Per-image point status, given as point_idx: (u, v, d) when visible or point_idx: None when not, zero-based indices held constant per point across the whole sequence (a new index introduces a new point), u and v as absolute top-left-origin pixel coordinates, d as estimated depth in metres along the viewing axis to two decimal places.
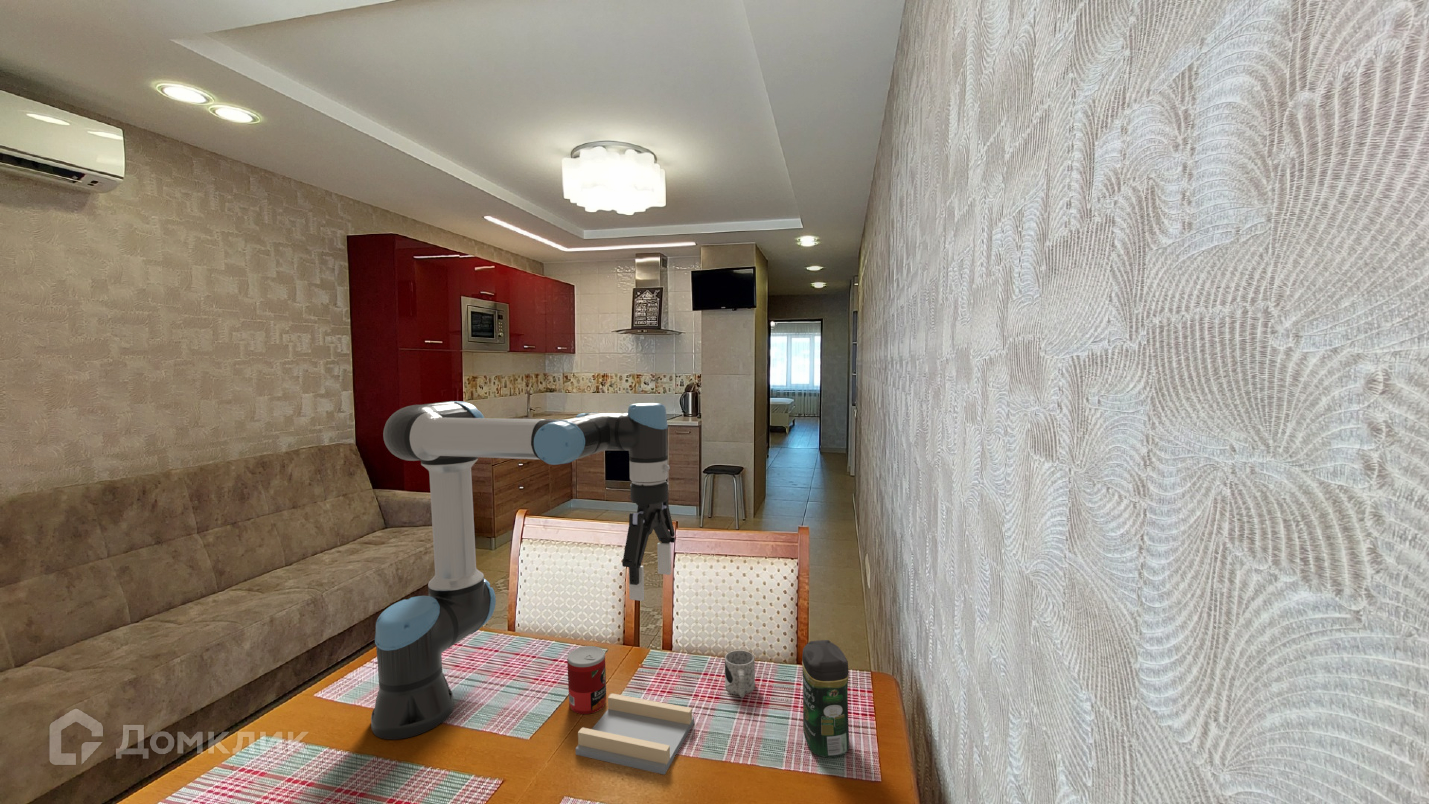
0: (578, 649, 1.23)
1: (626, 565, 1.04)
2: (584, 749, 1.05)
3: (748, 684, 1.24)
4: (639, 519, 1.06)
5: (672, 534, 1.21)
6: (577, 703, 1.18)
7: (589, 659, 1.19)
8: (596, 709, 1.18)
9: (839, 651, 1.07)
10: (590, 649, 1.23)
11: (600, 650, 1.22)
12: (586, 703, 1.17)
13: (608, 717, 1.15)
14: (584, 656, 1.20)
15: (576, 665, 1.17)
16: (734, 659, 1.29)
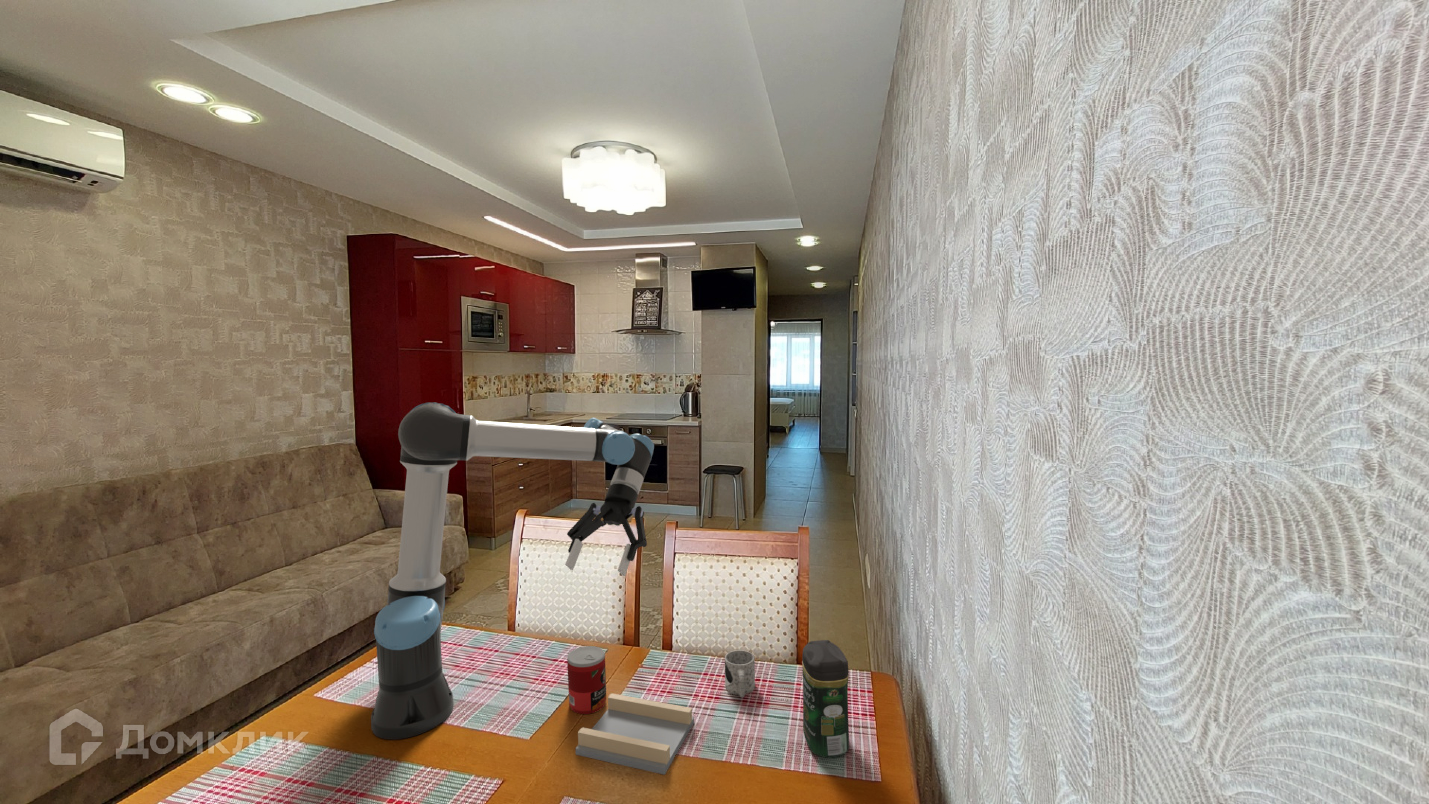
0: (578, 649, 1.23)
1: (644, 542, 1.30)
2: (584, 749, 1.05)
3: (748, 684, 1.24)
4: (643, 514, 1.37)
5: None
6: (577, 703, 1.18)
7: (589, 659, 1.19)
8: (596, 709, 1.18)
9: (839, 651, 1.07)
10: (590, 649, 1.23)
11: (600, 650, 1.22)
12: (586, 703, 1.17)
13: (608, 717, 1.15)
14: (584, 656, 1.20)
15: (576, 665, 1.17)
16: (734, 659, 1.29)
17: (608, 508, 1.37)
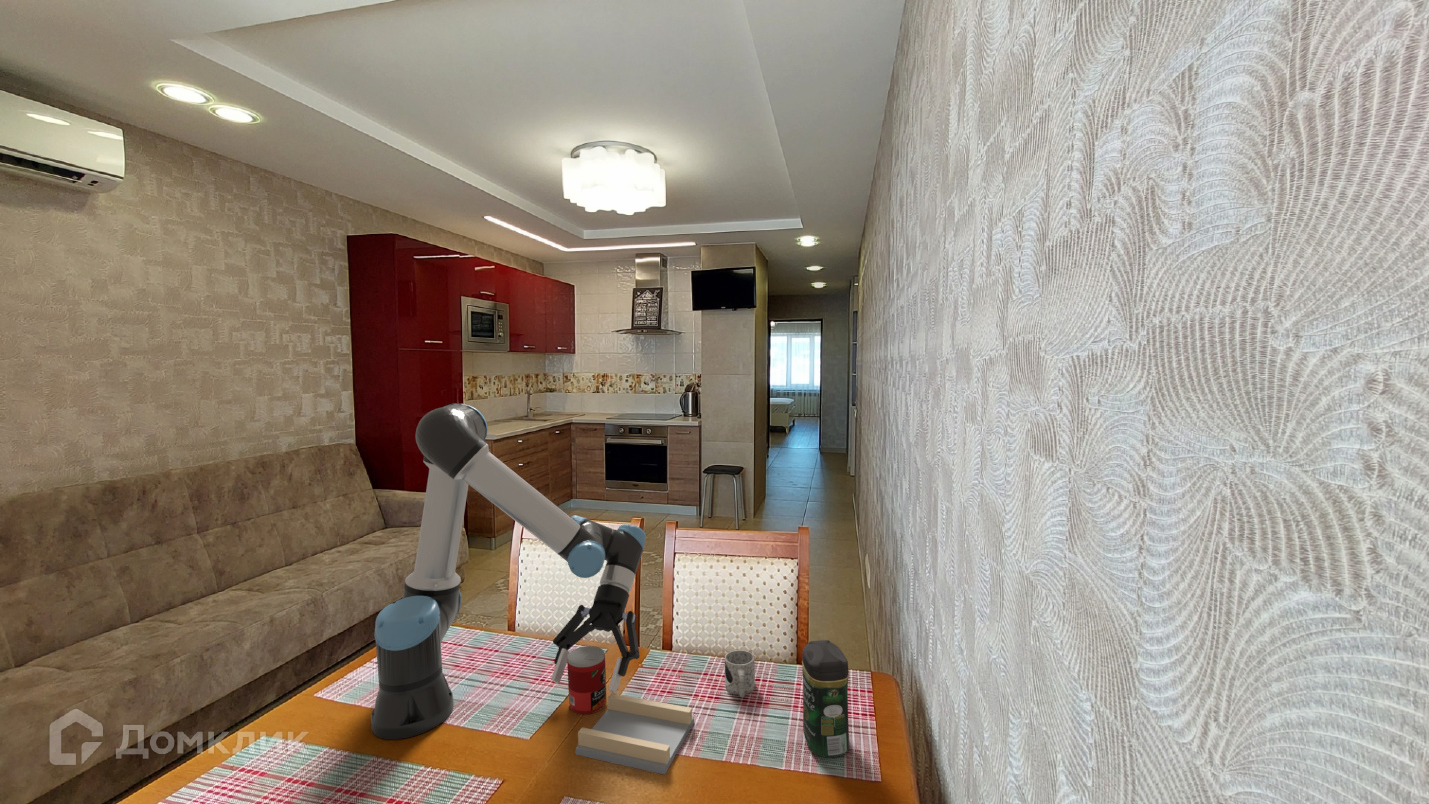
0: (578, 649, 1.23)
1: (636, 655, 1.21)
2: (584, 749, 1.05)
3: (748, 684, 1.24)
4: (635, 619, 1.27)
5: None
6: (577, 703, 1.18)
7: (589, 659, 1.19)
8: (596, 709, 1.18)
9: (839, 651, 1.07)
10: (590, 649, 1.23)
11: (600, 650, 1.22)
12: (586, 703, 1.17)
13: (608, 717, 1.15)
14: (584, 656, 1.20)
15: (576, 665, 1.17)
16: (734, 659, 1.29)
17: (597, 613, 1.27)
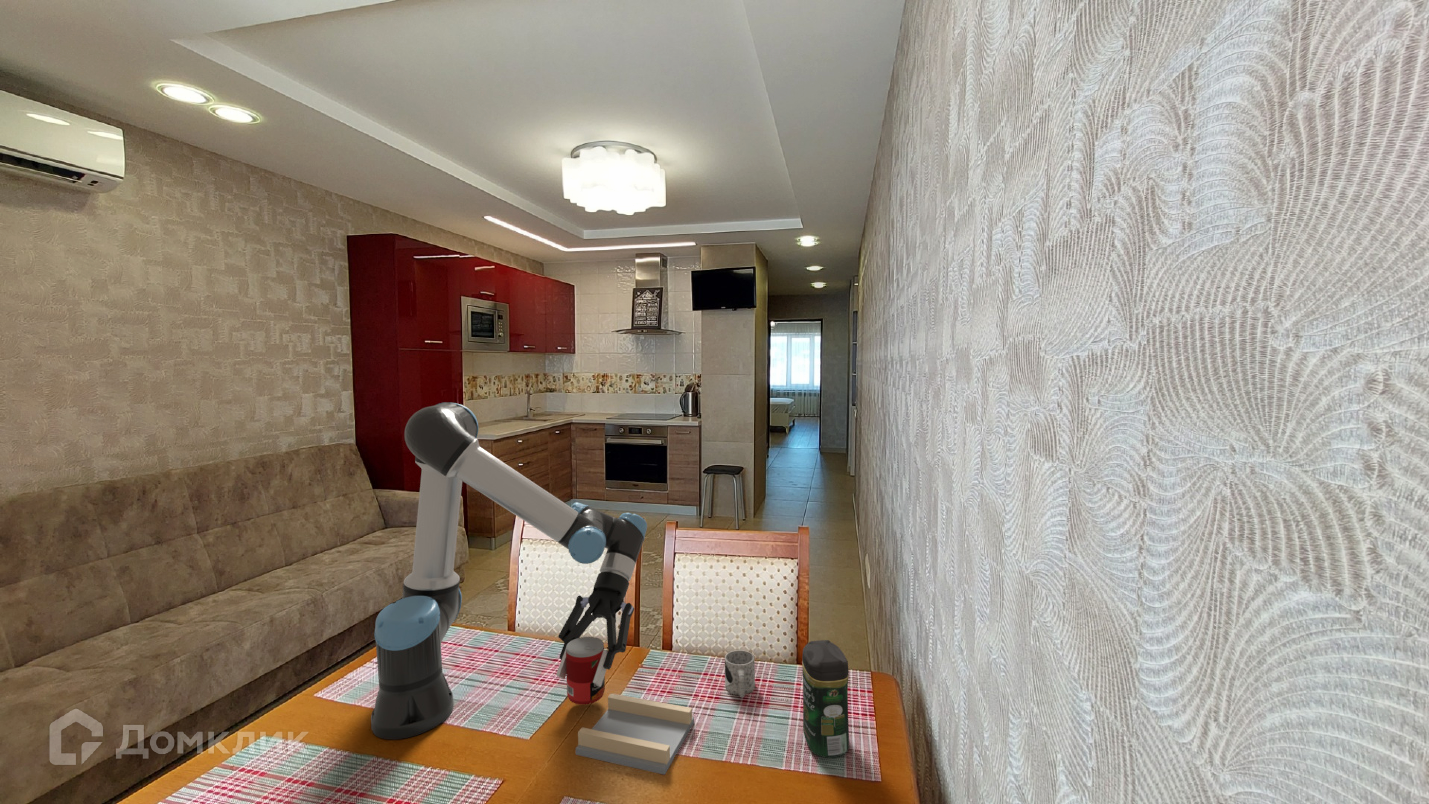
0: (576, 640, 1.22)
1: (622, 648, 1.20)
2: (584, 749, 1.05)
3: (748, 684, 1.24)
4: (632, 611, 1.26)
5: None
6: (577, 694, 1.17)
7: (588, 649, 1.19)
8: (595, 699, 1.18)
9: (839, 651, 1.07)
10: (588, 640, 1.23)
11: (599, 640, 1.22)
12: (586, 694, 1.17)
13: (608, 717, 1.15)
14: (583, 646, 1.20)
15: (576, 656, 1.16)
16: (734, 659, 1.29)
17: (597, 600, 1.27)
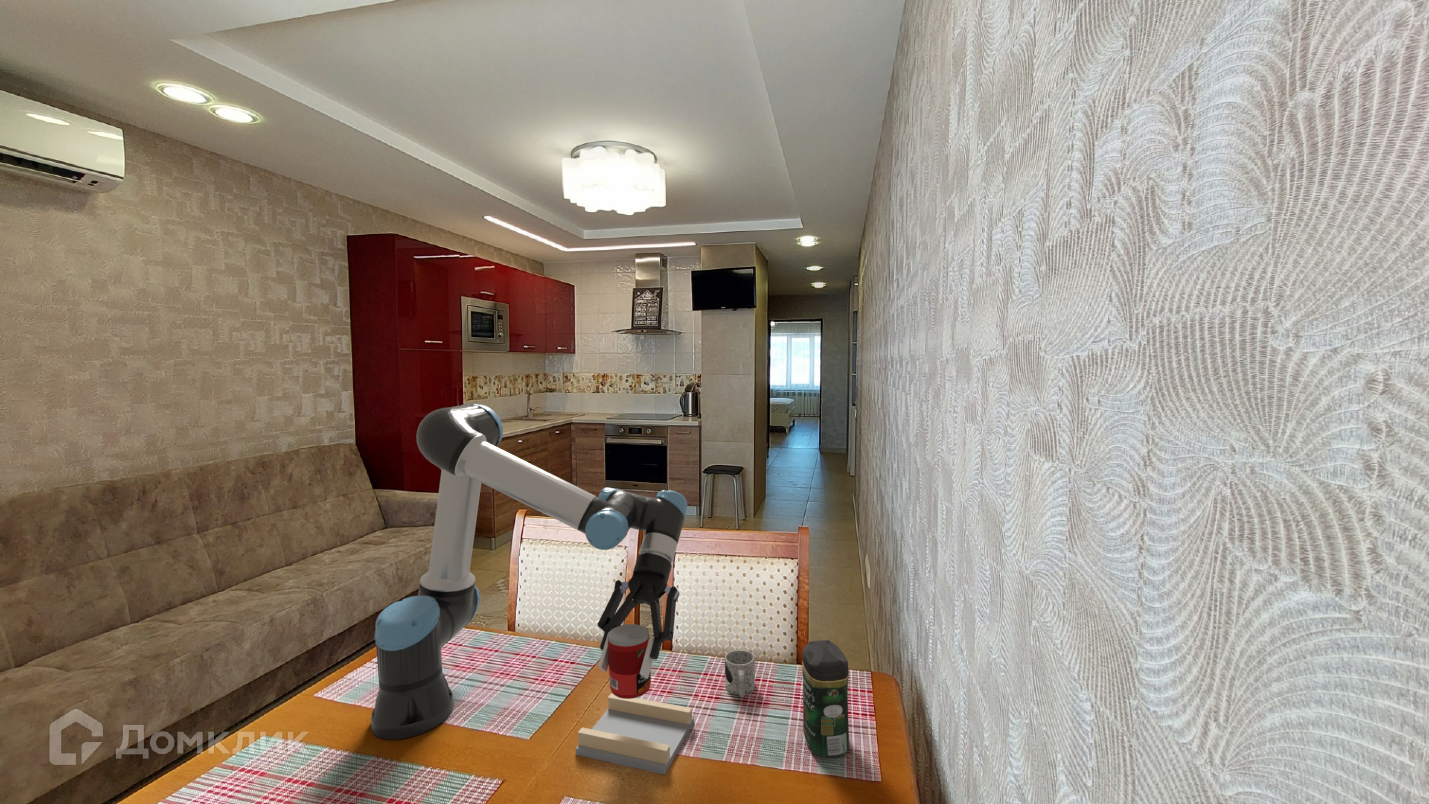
0: (618, 628, 1.11)
1: (670, 635, 1.08)
2: (584, 749, 1.05)
3: (748, 684, 1.24)
4: (678, 596, 1.14)
5: None
6: (621, 687, 1.05)
7: (633, 638, 1.07)
8: (642, 693, 1.06)
9: (839, 651, 1.07)
10: (631, 627, 1.11)
11: (643, 628, 1.10)
12: (632, 686, 1.05)
13: (608, 717, 1.15)
14: (626, 635, 1.08)
15: (620, 645, 1.05)
16: (734, 659, 1.29)
17: (638, 584, 1.15)
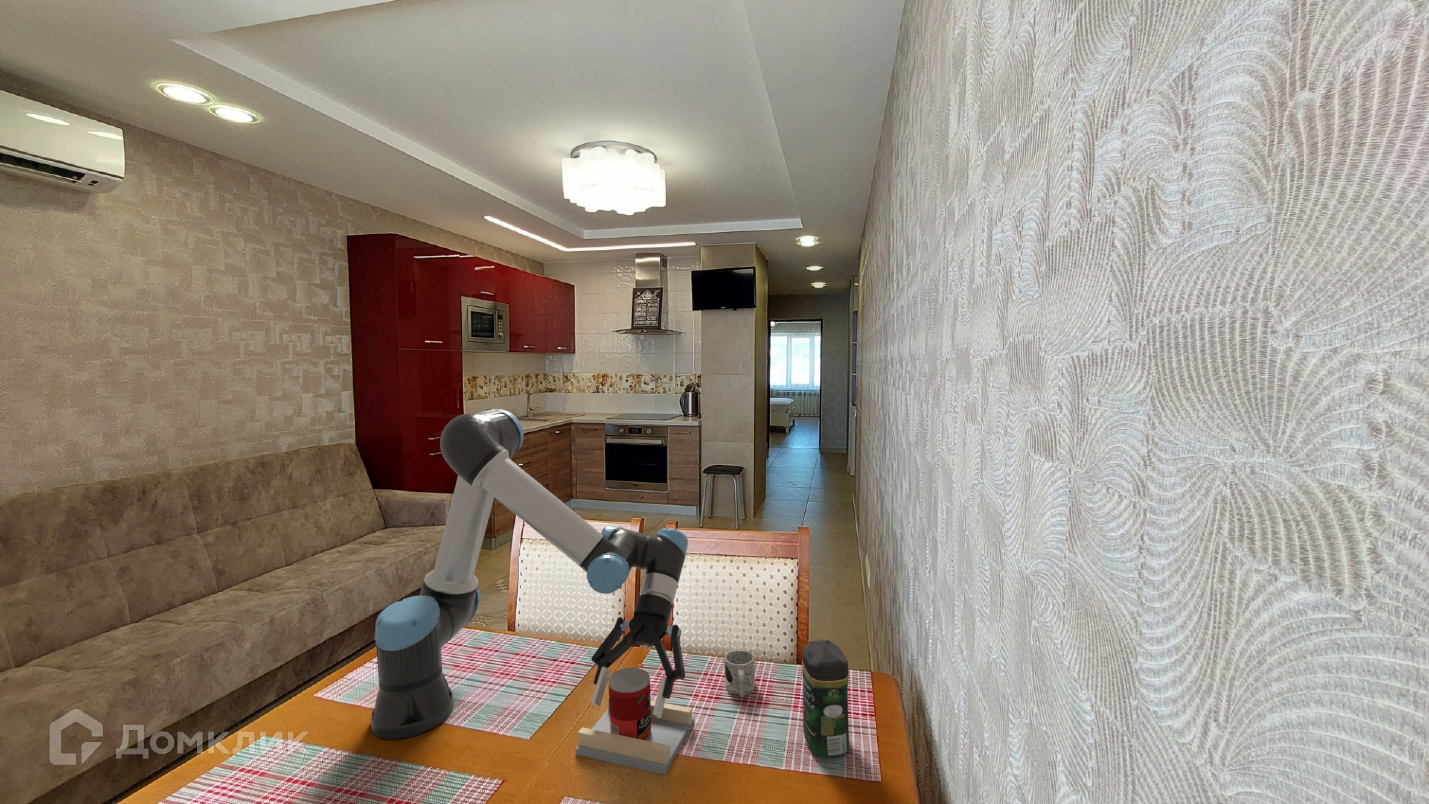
0: (618, 672, 1.11)
1: (682, 674, 1.09)
2: (584, 749, 1.05)
3: (748, 684, 1.24)
4: (680, 633, 1.16)
5: None
6: (622, 733, 1.06)
7: (633, 683, 1.08)
8: (642, 738, 1.07)
9: (839, 651, 1.07)
10: (632, 671, 1.12)
11: (643, 672, 1.11)
12: (632, 732, 1.06)
13: (608, 717, 1.15)
14: (627, 680, 1.09)
15: (621, 691, 1.05)
16: (734, 659, 1.29)
17: (639, 626, 1.16)
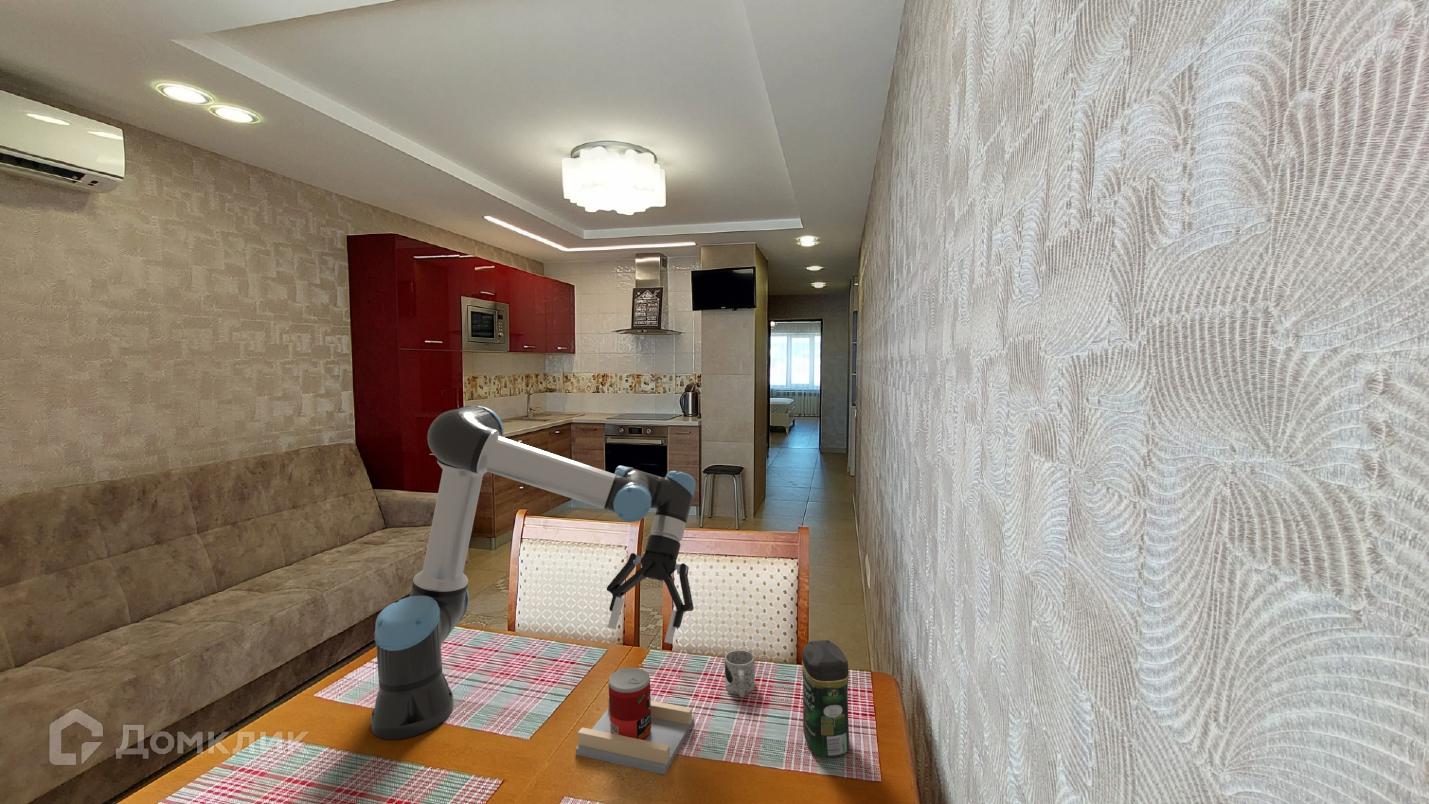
0: (618, 672, 1.11)
1: (691, 608, 1.21)
2: (584, 749, 1.05)
3: (748, 684, 1.24)
4: None
5: None
6: (622, 733, 1.06)
7: (633, 683, 1.08)
8: (642, 738, 1.07)
9: (839, 651, 1.07)
10: (632, 671, 1.12)
11: (643, 672, 1.11)
12: (632, 732, 1.06)
13: (608, 717, 1.15)
14: (627, 680, 1.09)
15: (621, 691, 1.05)
16: (734, 659, 1.29)
17: (650, 563, 1.26)
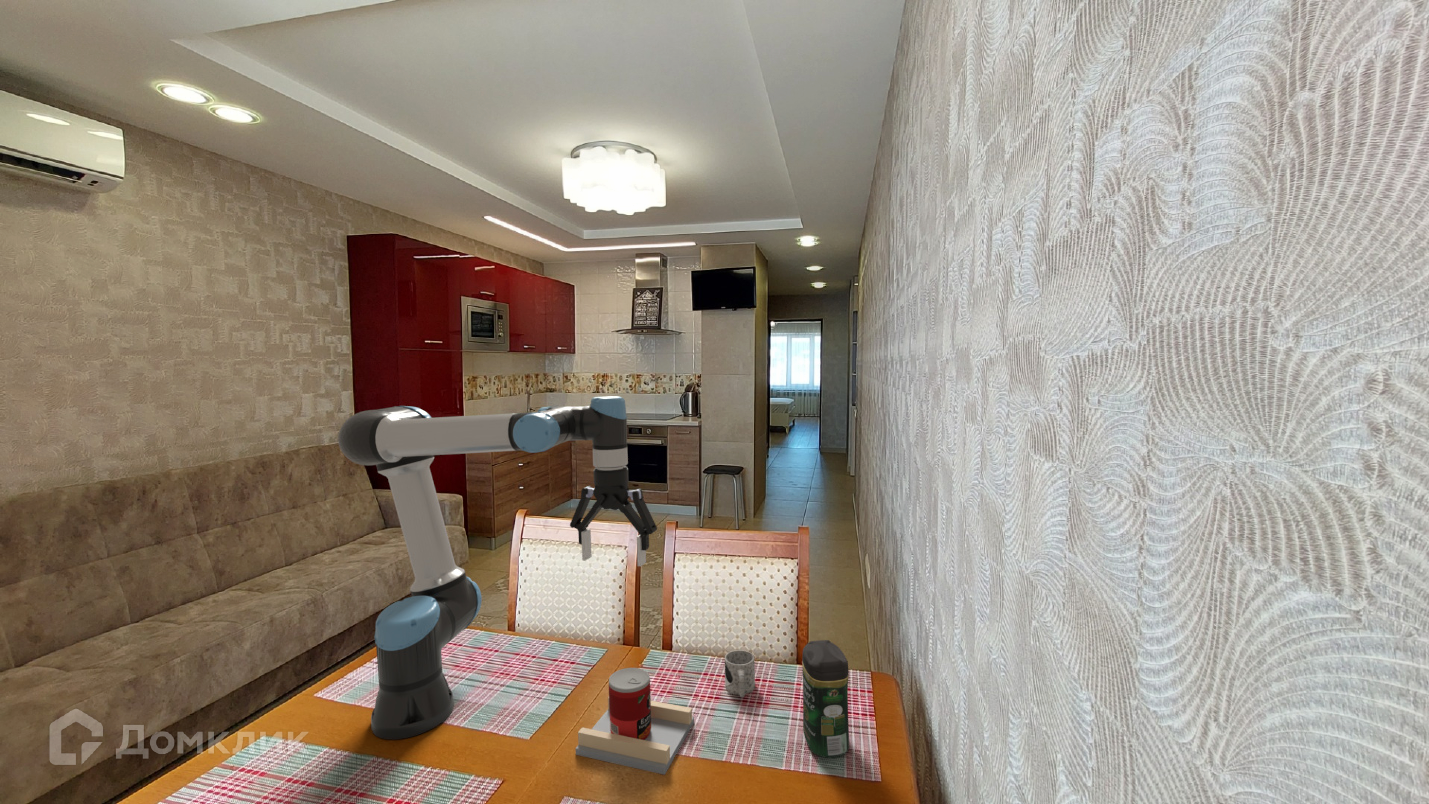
0: (618, 672, 1.11)
1: (653, 531, 1.22)
2: (584, 749, 1.05)
3: (748, 684, 1.24)
4: (641, 493, 1.23)
5: (580, 521, 1.29)
6: (622, 733, 1.06)
7: (633, 683, 1.08)
8: (642, 738, 1.07)
9: (839, 651, 1.07)
10: (632, 671, 1.12)
11: (643, 672, 1.11)
12: (632, 732, 1.06)
13: (608, 717, 1.15)
14: (627, 680, 1.09)
15: (621, 691, 1.05)
16: (734, 659, 1.29)
17: (602, 497, 1.23)
